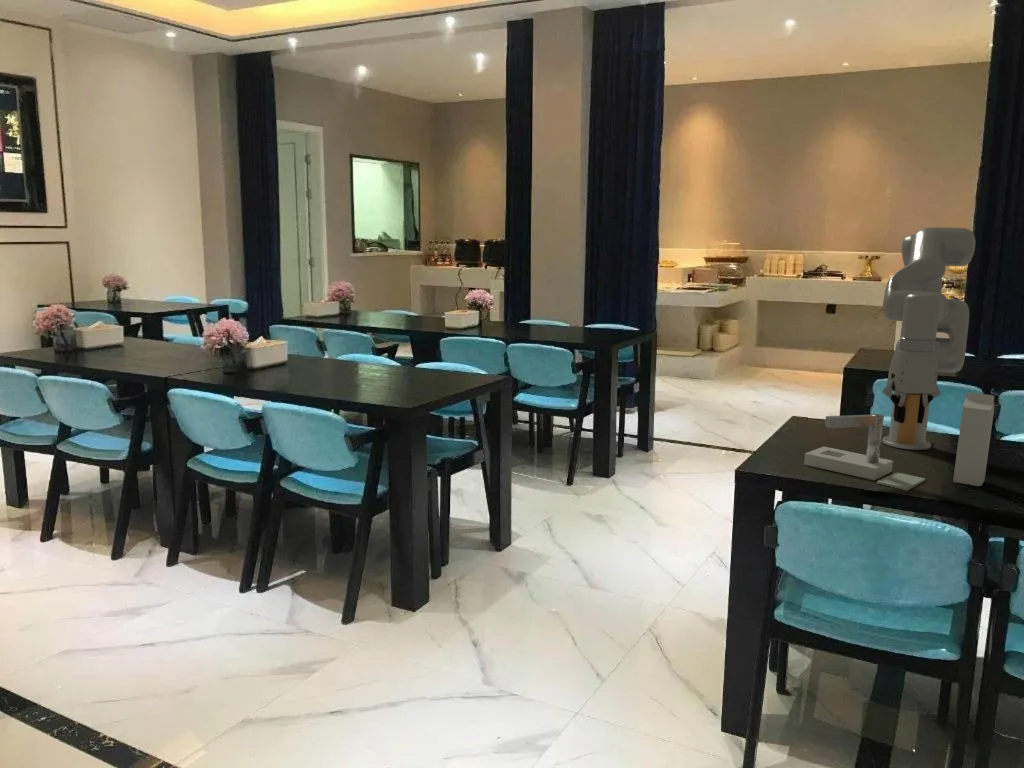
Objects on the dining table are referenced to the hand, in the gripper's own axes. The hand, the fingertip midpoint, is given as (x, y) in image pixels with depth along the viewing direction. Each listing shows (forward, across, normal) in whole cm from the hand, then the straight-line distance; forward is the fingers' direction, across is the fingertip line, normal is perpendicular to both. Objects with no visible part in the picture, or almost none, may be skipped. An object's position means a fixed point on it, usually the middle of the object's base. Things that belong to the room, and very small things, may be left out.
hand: (908, 421), depth 193 cm
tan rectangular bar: (+5, 0, 0) cm, 5 cm away
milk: (+15, -18, -1) cm, 24 cm away
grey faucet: (+12, +10, -7) cm, 17 cm away
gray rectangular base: (+15, +7, -12) cm, 21 cm away
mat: (+15, 0, 0) cm, 15 cm away
